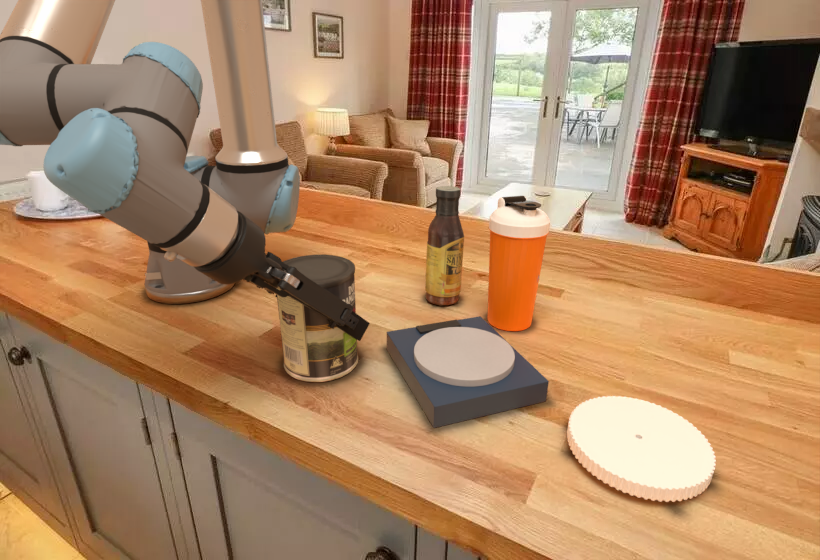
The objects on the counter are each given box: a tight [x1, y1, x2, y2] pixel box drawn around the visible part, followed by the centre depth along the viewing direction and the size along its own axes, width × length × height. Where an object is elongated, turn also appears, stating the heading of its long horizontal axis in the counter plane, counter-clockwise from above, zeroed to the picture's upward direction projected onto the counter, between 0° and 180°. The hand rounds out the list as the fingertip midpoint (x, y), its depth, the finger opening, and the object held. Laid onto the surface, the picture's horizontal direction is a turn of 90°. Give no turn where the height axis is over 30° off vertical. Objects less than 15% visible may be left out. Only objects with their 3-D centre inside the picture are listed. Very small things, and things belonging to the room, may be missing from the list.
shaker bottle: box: [487, 195, 551, 332], centre depth 76 cm, size 9×9×20 cm
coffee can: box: [276, 254, 359, 383], centre depth 66 cm, size 10×10×14 cm
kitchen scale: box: [386, 315, 550, 429], centre depth 65 cm, size 18×15×4 cm
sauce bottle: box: [424, 185, 465, 306], centre depth 83 cm, size 7×6×20 cm
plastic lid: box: [566, 395, 717, 503], centre depth 52 cm, size 14×14×2 cm
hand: (335, 318), depth 68 cm, fingers closed on coffee can, 10 cm apart
